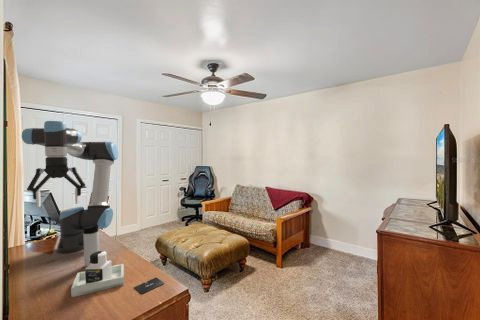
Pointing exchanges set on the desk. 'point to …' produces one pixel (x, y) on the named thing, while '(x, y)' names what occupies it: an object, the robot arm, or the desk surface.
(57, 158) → the robot arm
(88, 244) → the travel mug
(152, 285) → the solid state drive
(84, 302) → the desk surface
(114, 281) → the tray
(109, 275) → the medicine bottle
